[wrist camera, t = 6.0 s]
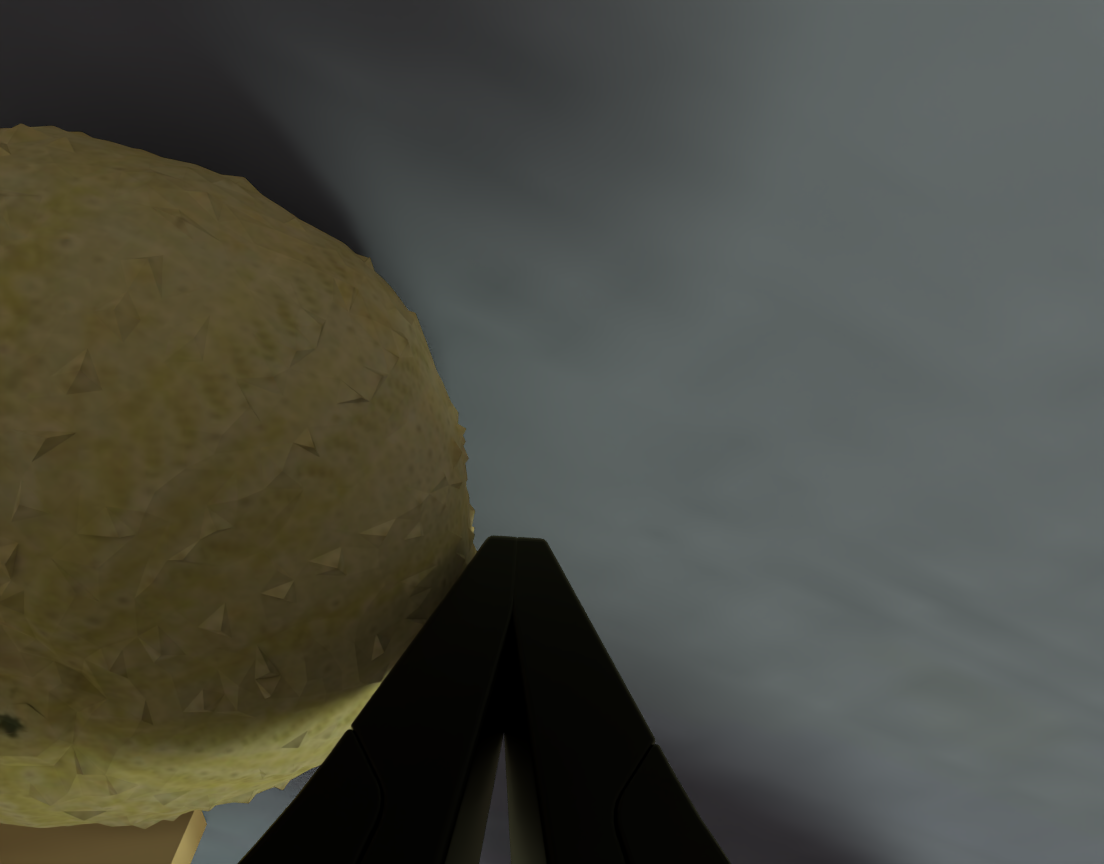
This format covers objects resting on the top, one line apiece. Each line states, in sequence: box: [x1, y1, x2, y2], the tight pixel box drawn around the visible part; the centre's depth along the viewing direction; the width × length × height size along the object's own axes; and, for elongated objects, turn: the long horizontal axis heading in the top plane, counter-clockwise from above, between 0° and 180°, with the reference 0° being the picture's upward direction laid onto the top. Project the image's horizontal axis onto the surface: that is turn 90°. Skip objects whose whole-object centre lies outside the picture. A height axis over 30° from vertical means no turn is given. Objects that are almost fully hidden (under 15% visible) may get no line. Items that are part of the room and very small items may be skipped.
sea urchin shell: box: [0, 124, 477, 829], centre depth 9 cm, size 9×8×8 cm
